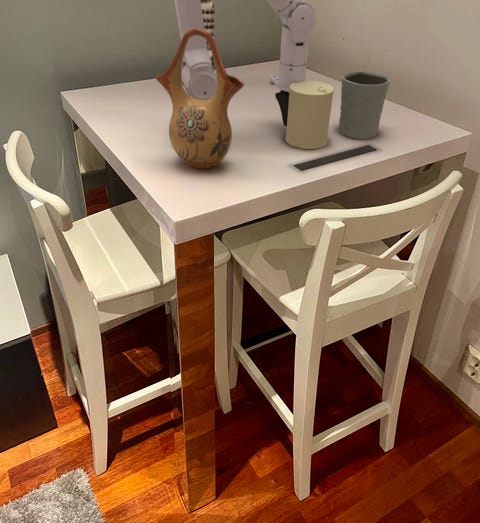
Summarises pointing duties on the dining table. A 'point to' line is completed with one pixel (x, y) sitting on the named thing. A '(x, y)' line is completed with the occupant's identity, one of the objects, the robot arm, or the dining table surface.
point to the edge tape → (334, 157)
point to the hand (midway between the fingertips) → (288, 125)
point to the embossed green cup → (362, 103)
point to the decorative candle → (208, 22)
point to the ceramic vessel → (199, 111)
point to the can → (309, 114)
